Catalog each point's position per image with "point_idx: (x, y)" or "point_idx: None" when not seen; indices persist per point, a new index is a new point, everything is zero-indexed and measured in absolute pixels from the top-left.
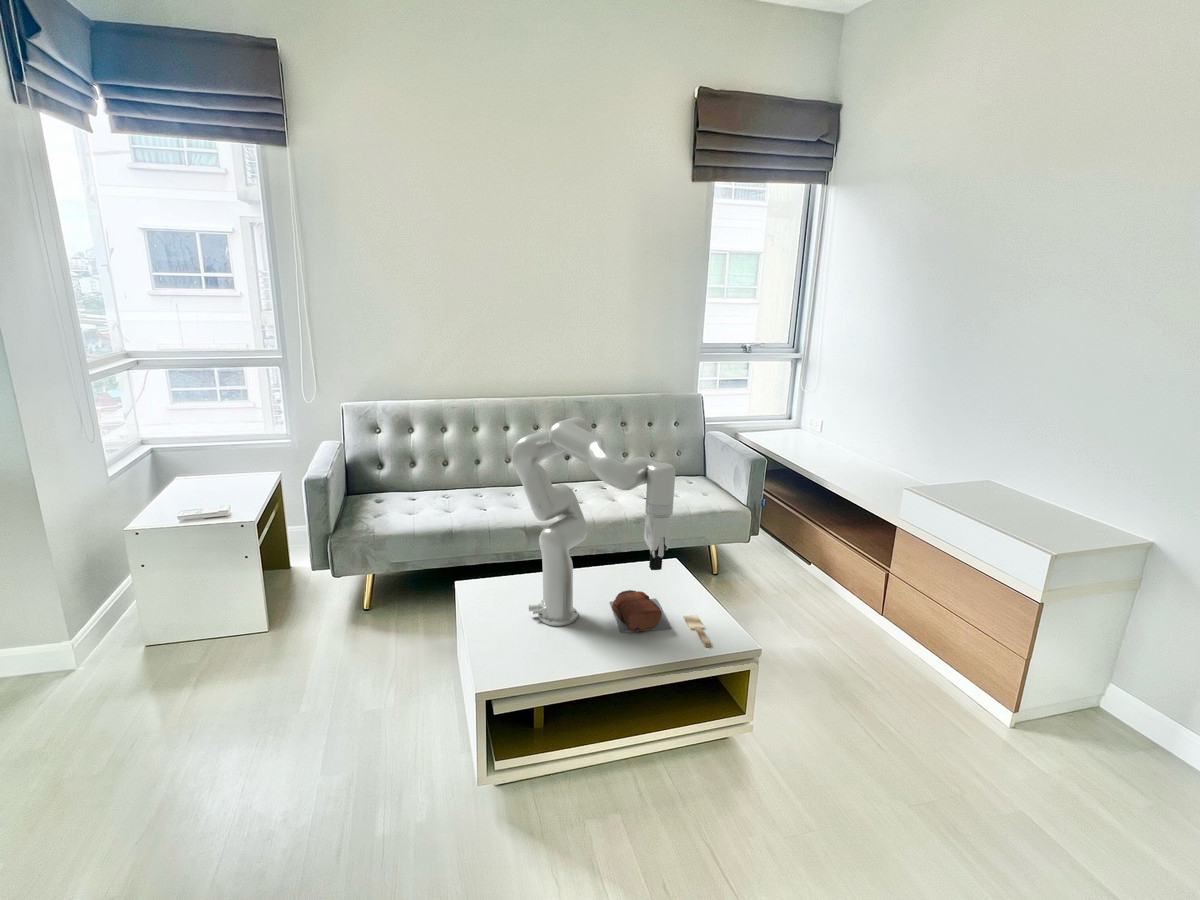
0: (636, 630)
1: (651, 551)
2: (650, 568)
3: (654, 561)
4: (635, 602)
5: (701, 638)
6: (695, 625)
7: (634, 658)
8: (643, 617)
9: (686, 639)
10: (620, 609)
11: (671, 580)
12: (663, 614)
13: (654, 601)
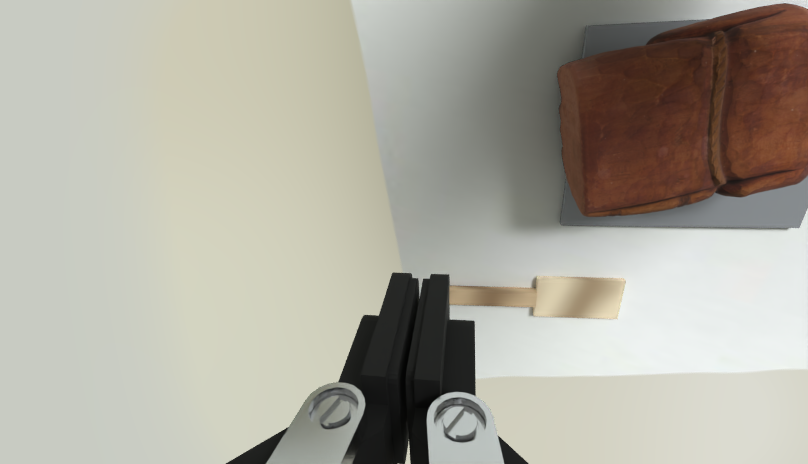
0: None
1: (429, 442)
2: (398, 276)
3: (347, 363)
4: (701, 121)
5: (471, 290)
6: (551, 297)
7: (396, 53)
8: (576, 134)
9: (485, 249)
10: (700, 38)
11: None
12: (657, 223)
13: (776, 216)
